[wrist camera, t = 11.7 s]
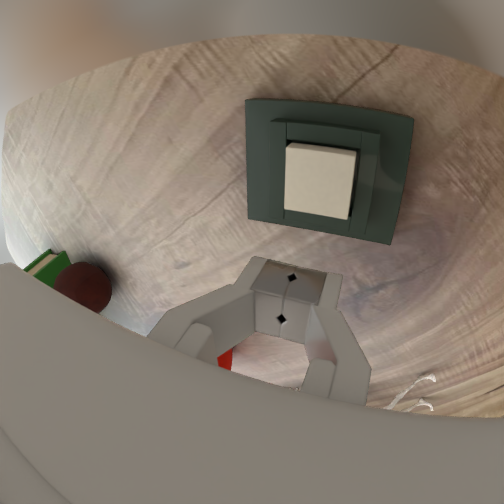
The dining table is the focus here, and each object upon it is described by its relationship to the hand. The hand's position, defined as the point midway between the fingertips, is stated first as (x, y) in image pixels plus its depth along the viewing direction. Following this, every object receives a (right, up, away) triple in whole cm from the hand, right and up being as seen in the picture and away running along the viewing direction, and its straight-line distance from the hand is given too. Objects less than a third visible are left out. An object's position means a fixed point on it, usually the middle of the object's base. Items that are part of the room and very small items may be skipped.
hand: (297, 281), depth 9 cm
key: (+3, +6, +9) cm, 12 cm away
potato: (-26, -2, +33) cm, 42 cm away
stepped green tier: (+4, +8, +12) cm, 15 cm away
